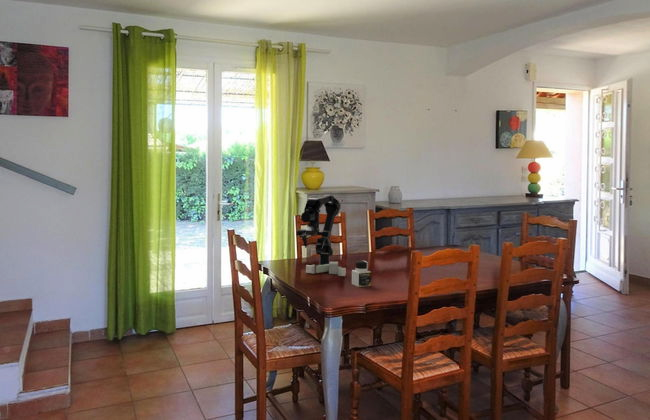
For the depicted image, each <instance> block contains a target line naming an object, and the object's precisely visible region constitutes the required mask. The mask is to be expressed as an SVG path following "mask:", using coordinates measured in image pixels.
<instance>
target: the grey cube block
mask: <svg viewBox="0 0 650 420" xmlns="http://www.w3.org/2000/svg"><path fill="white" fill-rule="evenodd" d="M338 267H339V261H329V271H328V274H329V275H338Z"/></svg>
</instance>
